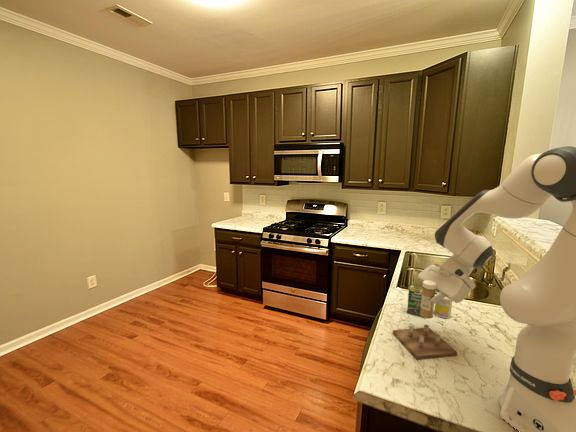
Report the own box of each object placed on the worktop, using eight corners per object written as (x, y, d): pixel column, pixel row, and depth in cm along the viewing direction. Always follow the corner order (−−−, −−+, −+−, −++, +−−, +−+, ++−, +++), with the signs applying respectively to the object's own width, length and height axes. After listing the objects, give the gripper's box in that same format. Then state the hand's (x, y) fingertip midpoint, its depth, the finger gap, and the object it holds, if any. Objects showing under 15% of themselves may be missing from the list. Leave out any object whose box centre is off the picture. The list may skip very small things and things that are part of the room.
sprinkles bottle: (435, 317, 104) (439, 283, 102) (427, 320, 102) (430, 285, 100) (425, 311, 108) (428, 279, 106) (416, 314, 106) (420, 280, 104)
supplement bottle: (440, 310, 134) (443, 284, 132) (453, 316, 128) (457, 290, 126) (430, 313, 131) (433, 287, 129) (444, 319, 125) (447, 293, 123)
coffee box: (406, 313, 130) (408, 286, 128) (407, 310, 133) (409, 284, 131) (425, 318, 126) (427, 291, 124) (425, 315, 129) (428, 288, 126)
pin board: (456, 355, 101) (458, 341, 100) (416, 359, 98) (418, 345, 97) (428, 330, 116) (429, 318, 115) (392, 333, 114) (393, 321, 113)
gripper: (429, 257, 113) (405, 281, 113) (469, 276, 93) (440, 305, 94) (438, 267, 115) (414, 291, 115) (479, 288, 95) (450, 316, 95)
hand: (426, 297), depth 104 cm, fingers closed on sprinkles bottle, 4 cm apart
